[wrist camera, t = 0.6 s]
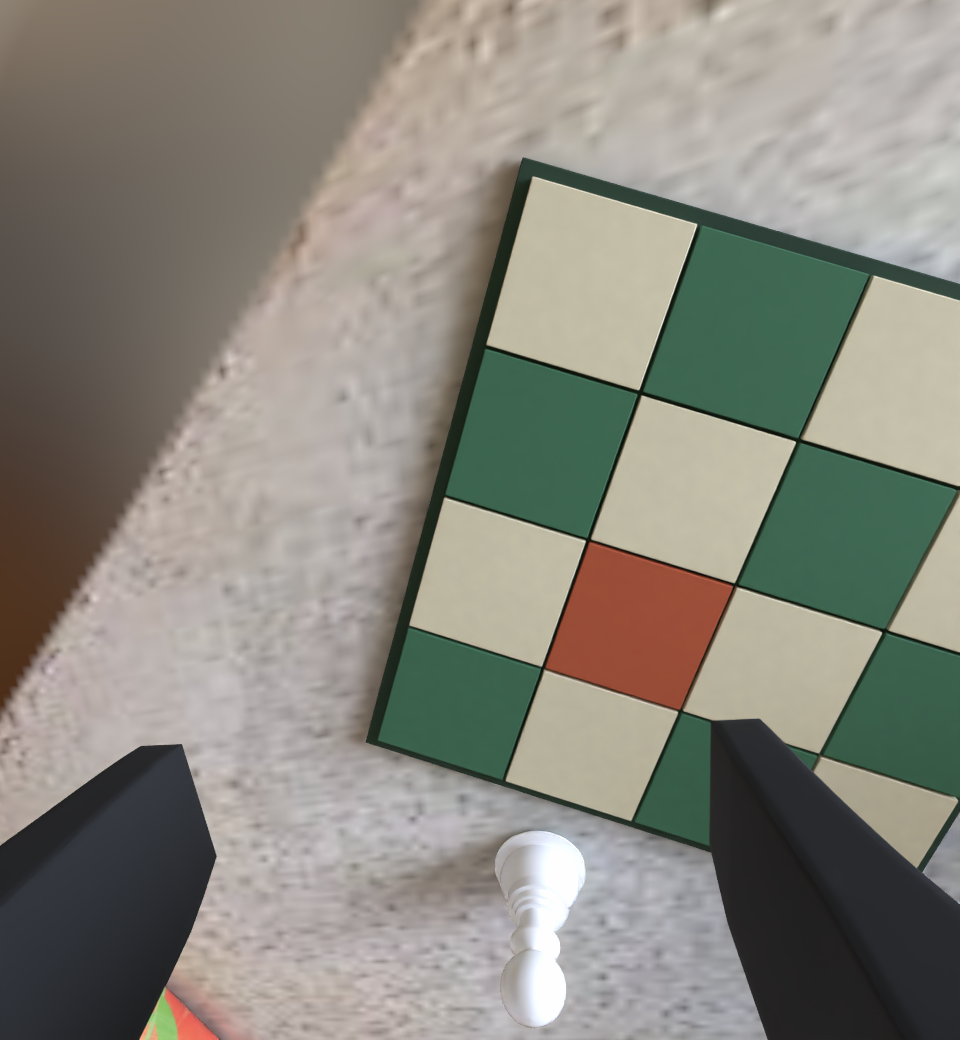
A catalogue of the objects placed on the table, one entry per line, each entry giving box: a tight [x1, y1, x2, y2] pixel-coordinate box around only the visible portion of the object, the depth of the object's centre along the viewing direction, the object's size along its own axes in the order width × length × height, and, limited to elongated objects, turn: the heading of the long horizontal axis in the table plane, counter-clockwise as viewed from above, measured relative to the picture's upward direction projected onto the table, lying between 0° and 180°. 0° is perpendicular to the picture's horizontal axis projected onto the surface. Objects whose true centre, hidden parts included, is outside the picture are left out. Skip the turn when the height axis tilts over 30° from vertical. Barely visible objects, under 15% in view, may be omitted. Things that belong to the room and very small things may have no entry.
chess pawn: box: [495, 831, 586, 1028], centre depth 20 cm, size 3×3×5 cm
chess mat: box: [366, 158, 960, 872], centre depth 19 cm, size 17×17×1 cm
